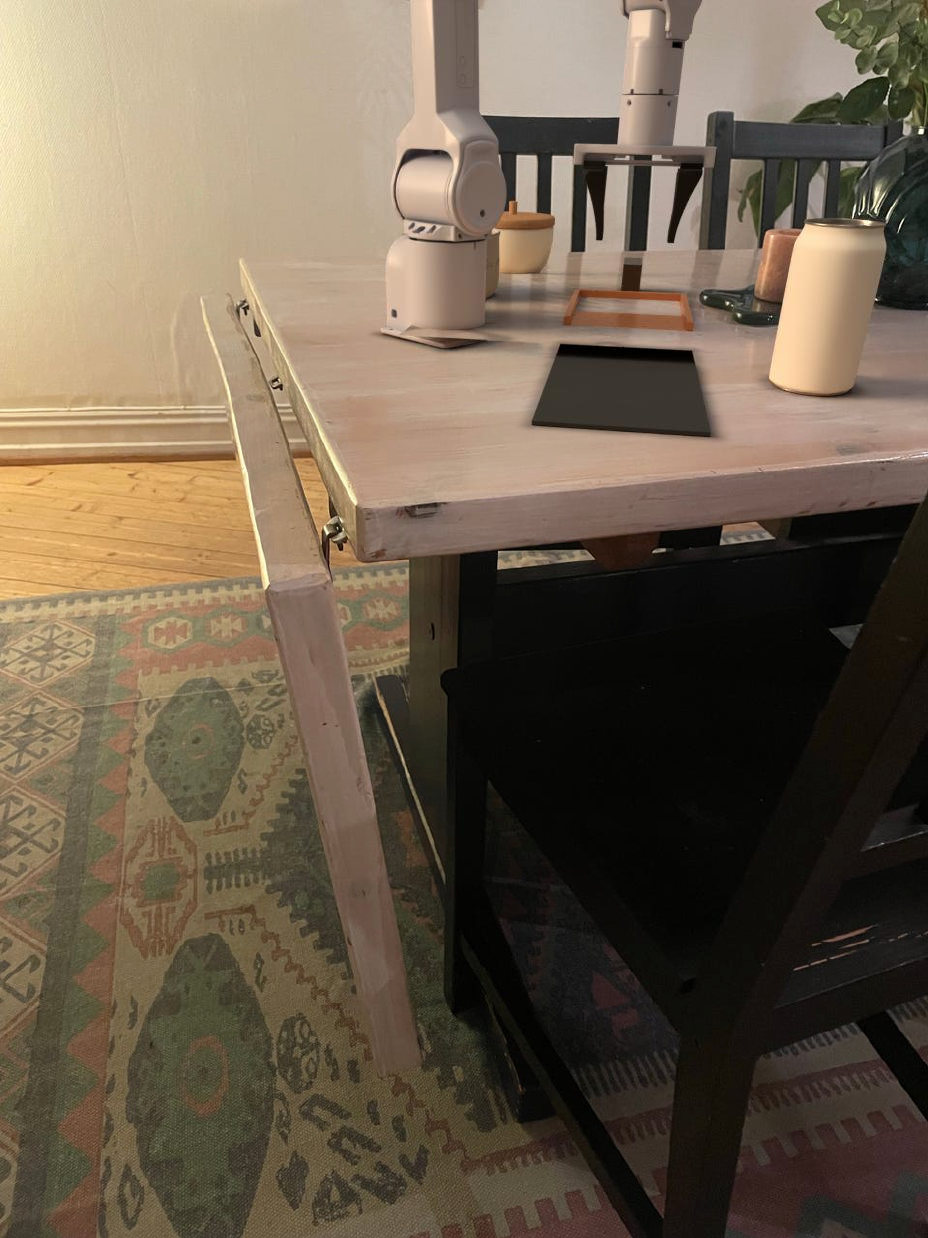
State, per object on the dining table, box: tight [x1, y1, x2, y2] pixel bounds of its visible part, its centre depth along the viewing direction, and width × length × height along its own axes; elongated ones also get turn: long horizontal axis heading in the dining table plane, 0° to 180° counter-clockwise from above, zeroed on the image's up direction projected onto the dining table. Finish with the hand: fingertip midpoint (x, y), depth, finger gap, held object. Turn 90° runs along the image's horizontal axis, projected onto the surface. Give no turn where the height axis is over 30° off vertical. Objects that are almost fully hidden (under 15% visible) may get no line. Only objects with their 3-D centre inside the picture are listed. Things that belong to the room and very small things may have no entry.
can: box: [768, 217, 887, 397], centre depth 66 cm, size 6×6×12 cm
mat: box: [531, 343, 712, 437], centre depth 69 cm, size 12×26×1 cm, turn 170°
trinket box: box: [494, 200, 556, 274], centre depth 111 cm, size 11×11×9 cm
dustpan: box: [563, 256, 695, 332], centre depth 89 cm, size 12×22×4 cm, turn 170°
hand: (634, 240), depth 94 cm, fingers open, 7 cm apart
